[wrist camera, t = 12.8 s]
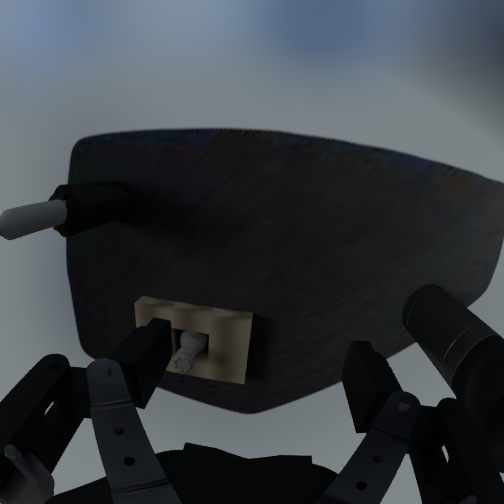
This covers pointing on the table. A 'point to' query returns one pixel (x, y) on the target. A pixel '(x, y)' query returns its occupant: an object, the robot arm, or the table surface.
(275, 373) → the table surface
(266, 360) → the table surface
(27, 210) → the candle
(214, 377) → the socket board
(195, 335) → the rook chess piece
